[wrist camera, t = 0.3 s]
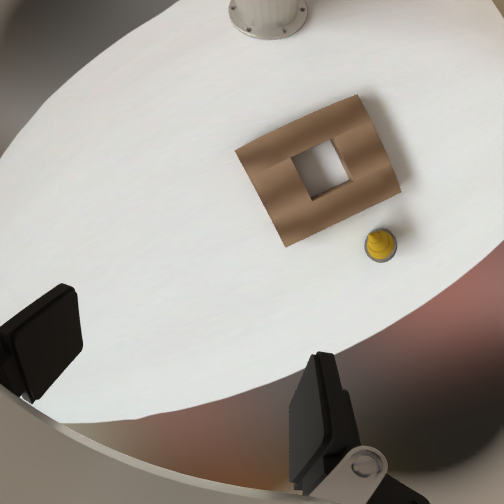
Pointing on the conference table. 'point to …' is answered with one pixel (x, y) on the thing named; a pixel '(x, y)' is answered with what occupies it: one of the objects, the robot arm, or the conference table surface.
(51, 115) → the conference table surface
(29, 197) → the conference table surface
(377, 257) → the drill bit
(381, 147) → the holder block
